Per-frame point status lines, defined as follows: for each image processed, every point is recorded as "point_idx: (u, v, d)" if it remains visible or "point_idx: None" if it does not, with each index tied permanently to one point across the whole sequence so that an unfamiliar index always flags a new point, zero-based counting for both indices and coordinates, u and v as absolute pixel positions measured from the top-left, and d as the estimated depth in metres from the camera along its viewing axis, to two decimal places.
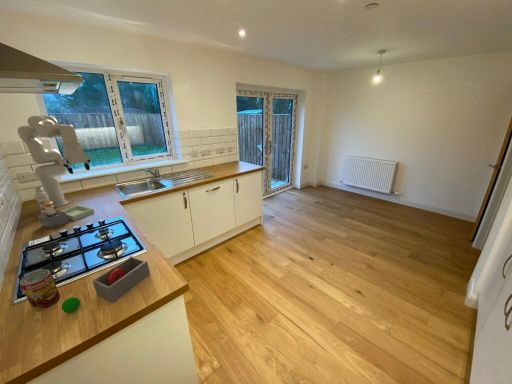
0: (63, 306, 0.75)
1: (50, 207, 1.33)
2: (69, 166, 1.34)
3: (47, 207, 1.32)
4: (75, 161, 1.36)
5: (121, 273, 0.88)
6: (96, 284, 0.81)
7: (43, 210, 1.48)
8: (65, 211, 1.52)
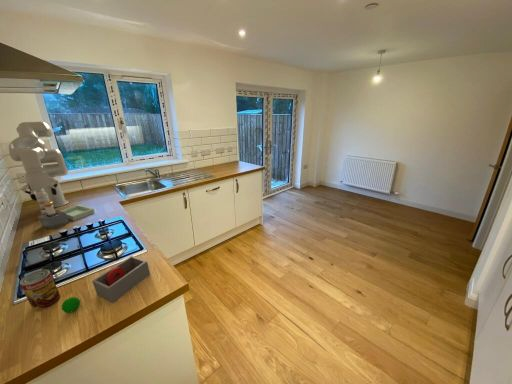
0: (63, 306, 0.75)
1: (50, 207, 1.33)
2: (32, 193, 1.25)
3: (47, 207, 1.32)
4: (38, 187, 1.26)
5: (120, 272, 0.88)
6: (96, 284, 0.81)
7: (43, 210, 1.48)
8: (65, 211, 1.52)
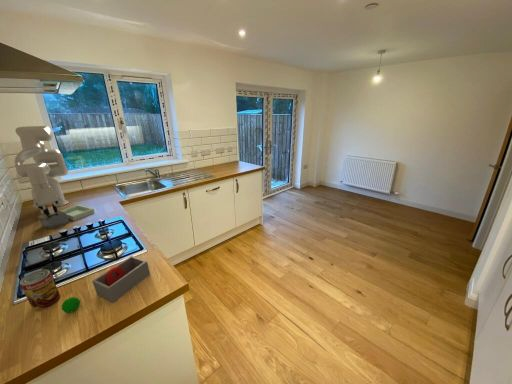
0: (63, 306, 0.75)
1: (50, 207, 1.33)
2: (44, 208, 1.31)
3: (47, 207, 1.32)
4: (44, 202, 1.30)
5: (119, 271, 0.89)
6: (96, 284, 0.81)
7: None
8: (65, 211, 1.52)
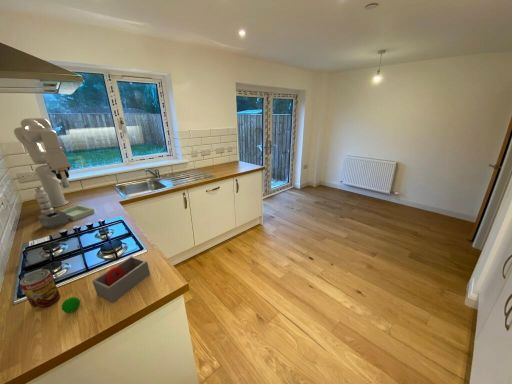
0: (63, 306, 0.75)
1: (62, 172, 1.40)
2: (57, 172, 1.38)
3: (60, 172, 1.39)
4: (57, 166, 1.37)
5: (119, 271, 0.89)
6: (96, 284, 0.81)
7: (43, 210, 1.48)
8: (65, 211, 1.52)
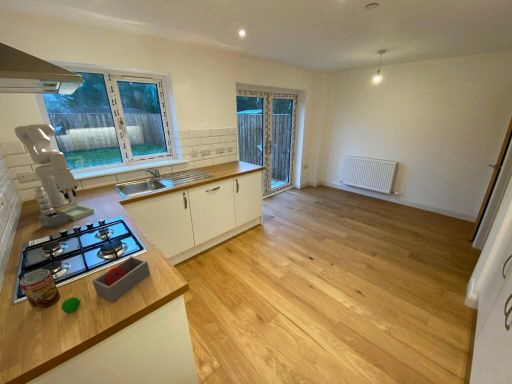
0: (63, 306, 0.75)
1: (70, 191, 1.45)
2: (65, 192, 1.43)
3: (67, 191, 1.44)
4: (65, 186, 1.42)
5: (119, 271, 0.89)
6: (96, 284, 0.81)
7: (43, 210, 1.48)
8: (65, 211, 1.52)
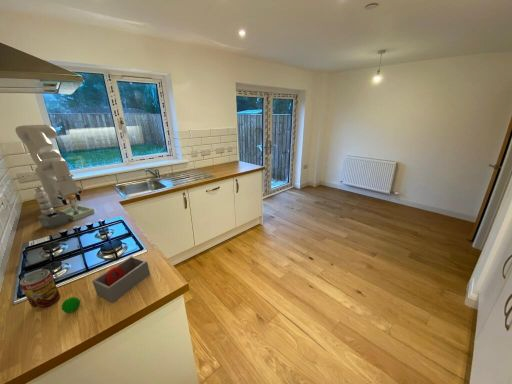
0: (63, 306, 0.75)
1: (73, 200, 1.47)
2: (63, 198, 1.43)
3: (70, 200, 1.47)
4: (67, 193, 1.43)
5: (119, 271, 0.89)
6: (96, 284, 0.81)
7: (43, 210, 1.48)
8: (65, 211, 1.52)
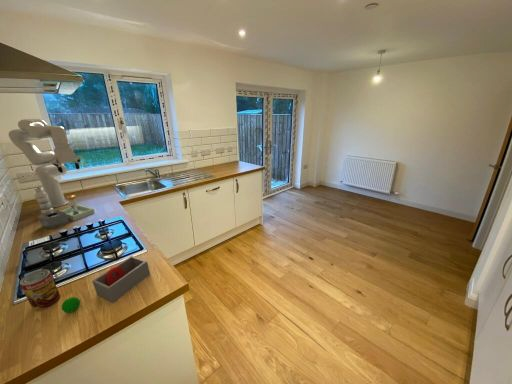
0: (63, 306, 0.75)
1: (73, 200, 1.47)
2: (59, 165, 1.42)
3: (70, 200, 1.47)
4: (65, 161, 1.43)
5: (119, 271, 0.89)
6: (96, 284, 0.81)
7: (43, 210, 1.48)
8: (65, 211, 1.52)
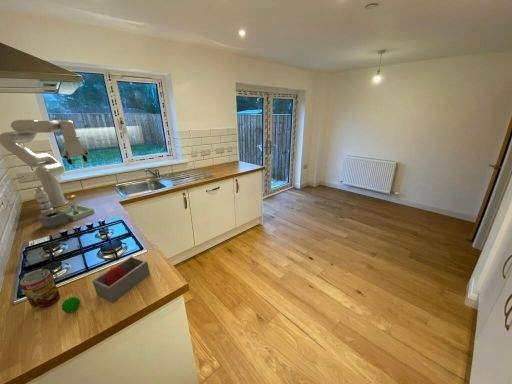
0: (63, 306, 0.75)
1: (73, 200, 1.47)
2: (68, 157, 1.50)
3: (70, 200, 1.47)
4: (74, 153, 1.52)
5: (119, 271, 0.89)
6: (96, 284, 0.81)
7: (43, 210, 1.48)
8: (65, 211, 1.52)
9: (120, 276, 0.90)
